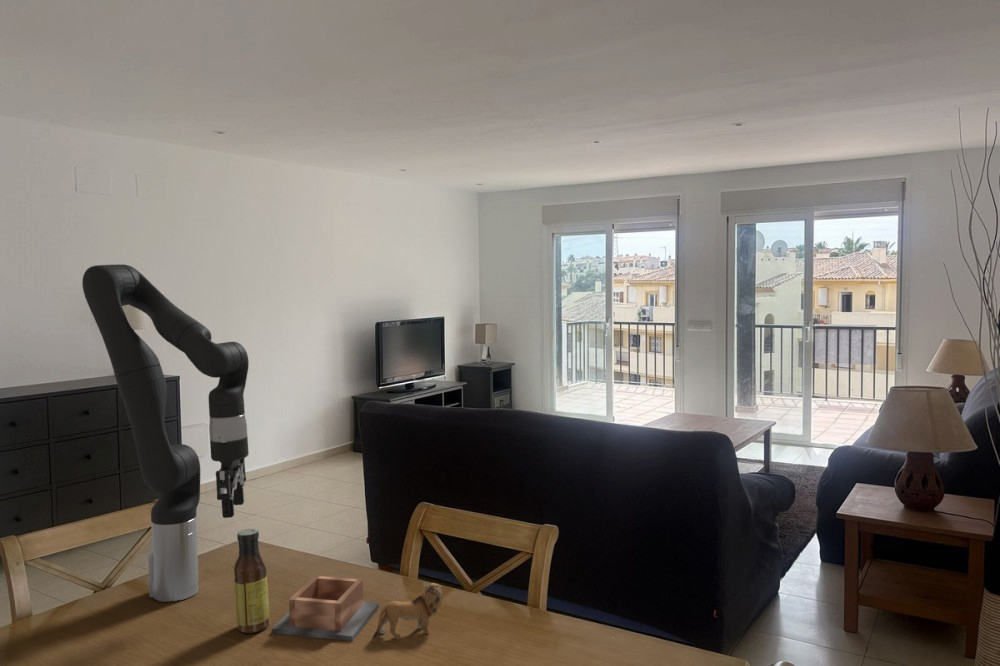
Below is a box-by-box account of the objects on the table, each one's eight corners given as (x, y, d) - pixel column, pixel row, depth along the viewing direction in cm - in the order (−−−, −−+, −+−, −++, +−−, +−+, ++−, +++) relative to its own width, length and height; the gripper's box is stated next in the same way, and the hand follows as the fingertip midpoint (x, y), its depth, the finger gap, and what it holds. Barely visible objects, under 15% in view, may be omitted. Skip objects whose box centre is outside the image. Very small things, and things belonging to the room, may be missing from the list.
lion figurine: (437, 619, 150) (437, 577, 149) (447, 630, 145) (447, 587, 144) (368, 634, 143) (368, 590, 142) (376, 646, 138) (376, 601, 138)
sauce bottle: (274, 621, 149) (272, 526, 147) (261, 635, 142) (259, 537, 141) (243, 619, 149) (241, 525, 148) (229, 634, 143) (227, 536, 142)
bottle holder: (271, 633, 143) (271, 601, 143) (305, 600, 158) (304, 571, 158) (352, 641, 140) (352, 608, 140) (379, 607, 155) (378, 577, 155)
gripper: (219, 430, 160) (224, 502, 161) (200, 444, 146) (205, 523, 147) (254, 428, 161) (259, 499, 162) (238, 442, 147) (243, 520, 148)
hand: (233, 510), depth 154 cm, fingers open, 8 cm apart
